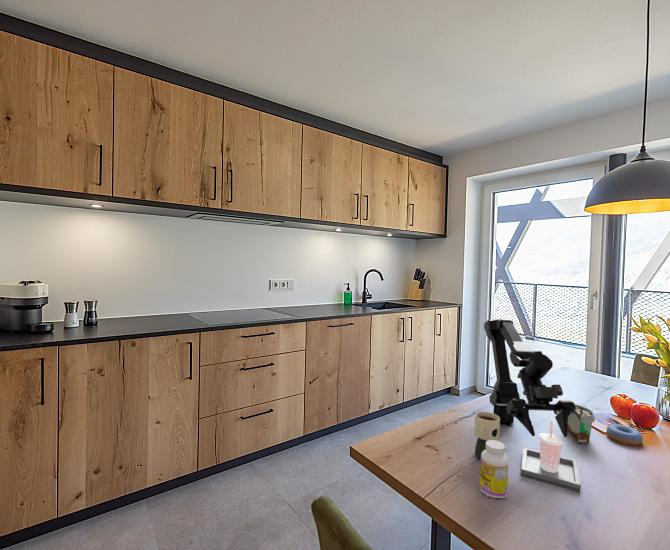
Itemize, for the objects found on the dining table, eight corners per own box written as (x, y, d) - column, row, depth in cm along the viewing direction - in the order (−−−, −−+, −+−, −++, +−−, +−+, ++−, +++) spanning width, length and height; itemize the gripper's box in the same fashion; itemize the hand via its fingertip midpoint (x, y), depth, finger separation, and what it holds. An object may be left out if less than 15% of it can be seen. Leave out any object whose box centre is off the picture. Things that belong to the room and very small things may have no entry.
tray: (521, 475, 105) (521, 469, 105) (523, 453, 117) (523, 447, 117) (580, 492, 98) (580, 484, 98) (576, 466, 111) (576, 460, 110)
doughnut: (646, 440, 128) (645, 426, 128) (639, 451, 122) (639, 437, 121) (611, 432, 136) (610, 419, 136) (603, 442, 129) (602, 429, 129)
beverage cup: (563, 476, 104) (566, 427, 103) (539, 471, 106) (541, 423, 106) (559, 464, 110) (561, 418, 109) (535, 460, 112) (537, 414, 111)
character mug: (492, 469, 108) (494, 425, 107) (467, 460, 112) (469, 418, 112) (502, 454, 116) (504, 413, 116) (479, 446, 121) (481, 407, 120)
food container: (600, 448, 122) (602, 418, 121) (579, 446, 123) (581, 416, 122) (583, 431, 134) (585, 404, 133) (564, 429, 135) (566, 402, 134)
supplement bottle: (474, 484, 101) (477, 438, 100) (498, 483, 101) (500, 437, 101) (487, 500, 94) (489, 451, 93) (512, 499, 95) (514, 450, 94)
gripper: (512, 372, 113) (528, 425, 102) (574, 374, 112) (597, 427, 102) (499, 388, 121) (513, 438, 111) (558, 390, 120) (577, 441, 110)
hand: (549, 436), depth 108 cm, fingers open, 9 cm apart
